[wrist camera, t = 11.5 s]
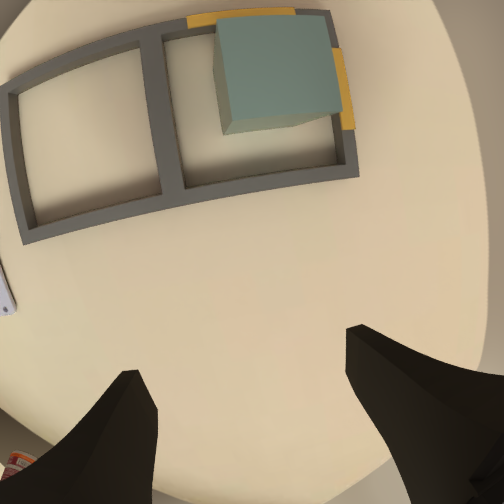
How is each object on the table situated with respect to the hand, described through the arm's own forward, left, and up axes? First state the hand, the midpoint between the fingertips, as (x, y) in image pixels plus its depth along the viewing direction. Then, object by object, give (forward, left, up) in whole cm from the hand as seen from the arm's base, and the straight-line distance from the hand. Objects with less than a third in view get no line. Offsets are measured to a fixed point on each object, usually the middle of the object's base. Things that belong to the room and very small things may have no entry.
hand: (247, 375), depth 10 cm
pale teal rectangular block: (+3, +10, -10) cm, 14 cm away
